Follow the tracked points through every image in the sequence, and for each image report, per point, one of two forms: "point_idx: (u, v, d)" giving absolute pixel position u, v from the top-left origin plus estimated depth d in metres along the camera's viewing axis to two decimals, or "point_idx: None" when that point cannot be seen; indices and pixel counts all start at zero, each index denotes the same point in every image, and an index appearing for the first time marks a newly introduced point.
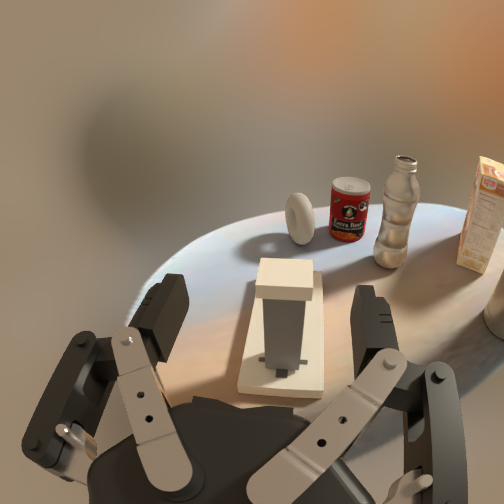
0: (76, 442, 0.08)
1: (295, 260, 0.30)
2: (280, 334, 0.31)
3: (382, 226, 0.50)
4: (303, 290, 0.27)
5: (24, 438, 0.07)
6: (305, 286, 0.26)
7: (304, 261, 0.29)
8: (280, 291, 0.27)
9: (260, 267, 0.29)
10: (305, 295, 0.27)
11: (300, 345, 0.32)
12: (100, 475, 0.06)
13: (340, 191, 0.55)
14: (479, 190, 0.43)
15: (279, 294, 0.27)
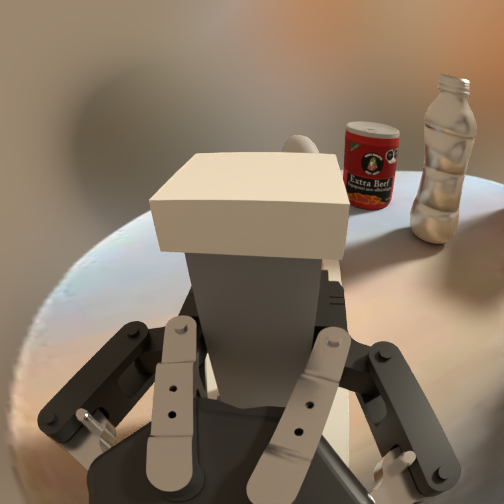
0: (94, 429, 0.08)
1: (286, 153, 0.10)
2: (250, 362, 0.12)
3: (425, 178, 0.30)
4: (316, 214, 0.07)
5: (43, 410, 0.08)
6: (322, 200, 0.07)
7: (311, 155, 0.10)
8: (232, 222, 0.08)
9: (185, 167, 0.10)
10: (321, 237, 0.08)
11: None
12: (102, 470, 0.06)
13: (359, 133, 0.36)
14: None
15: (230, 234, 0.08)
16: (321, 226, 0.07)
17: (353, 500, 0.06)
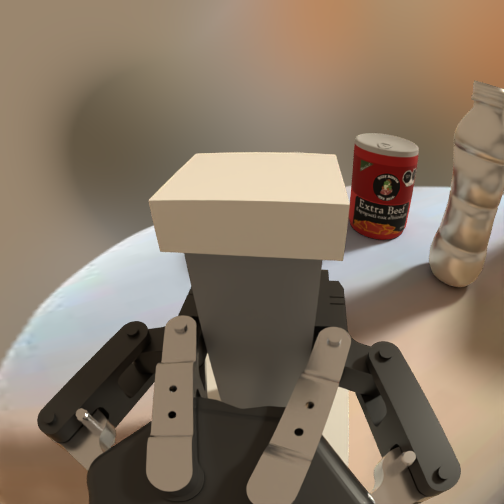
0: (94, 429, 0.08)
1: (286, 153, 0.10)
2: (250, 362, 0.12)
3: (452, 210, 0.24)
4: (315, 214, 0.07)
5: (43, 409, 0.08)
6: (322, 201, 0.07)
7: (311, 155, 0.10)
8: (232, 222, 0.08)
9: (185, 167, 0.10)
10: (321, 238, 0.08)
11: None
12: (102, 471, 0.06)
13: (371, 150, 0.29)
14: None
15: (230, 235, 0.08)
16: (321, 226, 0.07)
17: (353, 500, 0.06)
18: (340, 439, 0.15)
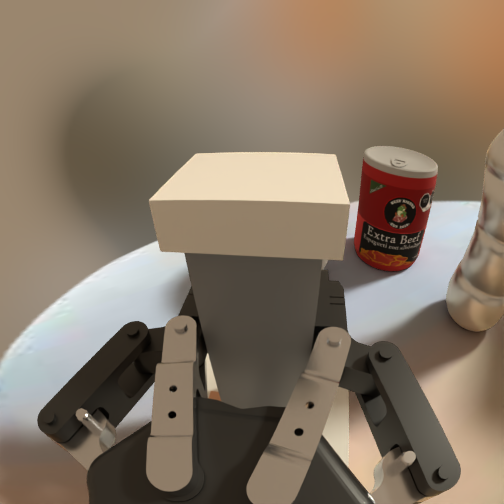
0: (94, 429, 0.08)
1: (286, 153, 0.10)
2: (250, 362, 0.12)
3: (478, 247, 0.19)
4: (316, 214, 0.07)
5: (43, 410, 0.08)
6: (322, 200, 0.07)
7: (311, 155, 0.10)
8: (232, 222, 0.08)
9: (185, 167, 0.10)
10: (321, 237, 0.08)
11: None
12: (102, 471, 0.06)
13: (384, 170, 0.24)
14: None
15: (230, 234, 0.08)
16: (321, 226, 0.07)
17: (353, 500, 0.06)
18: None
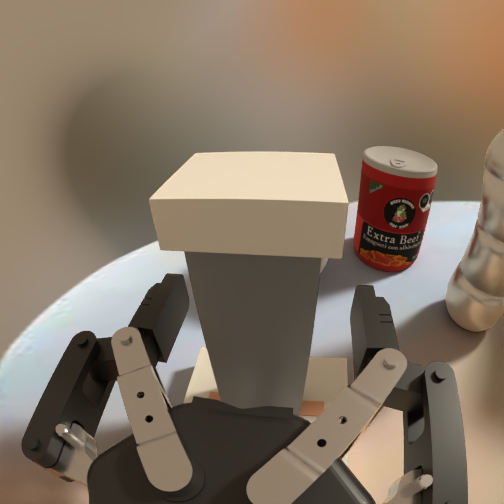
0: (76, 442, 0.08)
1: (285, 153, 0.10)
2: (250, 360, 0.12)
3: (478, 247, 0.19)
4: (314, 213, 0.07)
5: (24, 438, 0.07)
6: (321, 199, 0.07)
7: (310, 154, 0.10)
8: (232, 221, 0.08)
9: (185, 166, 0.10)
10: (320, 236, 0.08)
11: (301, 385, 0.12)
12: (100, 475, 0.06)
13: (384, 170, 0.24)
14: None
15: (230, 233, 0.08)
16: (320, 225, 0.07)
17: None
18: None
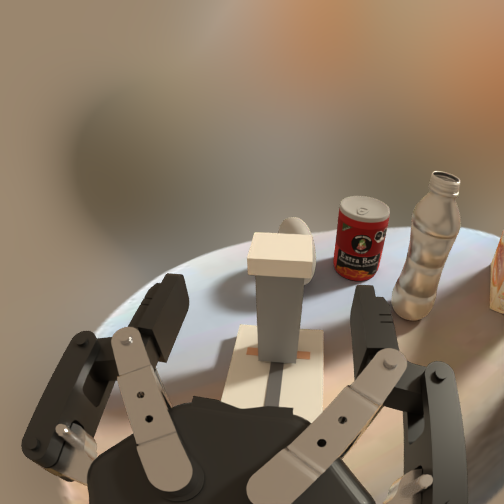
0: (76, 442, 0.08)
1: (292, 234, 0.27)
2: (275, 320, 0.28)
3: (407, 267, 0.35)
4: (302, 264, 0.24)
5: (24, 438, 0.07)
6: (304, 260, 0.23)
7: (302, 236, 0.27)
8: (275, 266, 0.24)
9: (253, 241, 0.26)
10: (303, 271, 0.24)
11: (297, 333, 0.29)
12: (100, 475, 0.06)
13: (351, 217, 0.41)
14: None
15: (274, 270, 0.24)
16: (303, 268, 0.24)
17: None
18: None
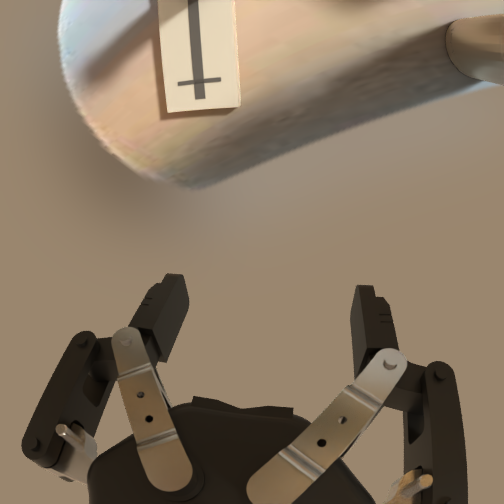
0: (76, 442, 0.08)
1: None
2: None
3: None
4: None
5: (24, 438, 0.07)
6: None
7: None
8: None
9: None
10: None
11: None
12: (100, 475, 0.06)
13: None
14: None
15: None
16: None
17: None
18: (229, 36, 0.32)
